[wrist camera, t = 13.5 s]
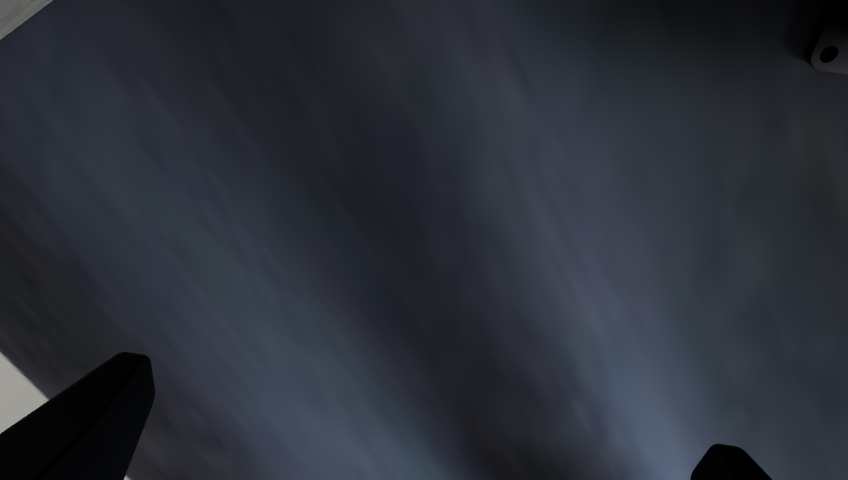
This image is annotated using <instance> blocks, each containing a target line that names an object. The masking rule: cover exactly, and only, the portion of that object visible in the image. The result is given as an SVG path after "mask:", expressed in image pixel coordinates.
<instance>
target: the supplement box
mask: <svg viewBox="0 0 848 480" xmlns="http://www.w3.org/2000/svg"><path fill="white" fill-rule="evenodd" d="M51 1H53V0H0V40H1V39H2V38H4V37H5V36H6V35H8V34H9V33H10V32H12V31H13V30H14V29H16V28H17V27H18V26H20V25H21V24H22V23H24V22H25V21H26V20H28V19H29V18H30V17H32V16H33V15H34V14H36V13H37V12H38V11H40V10H41V9H42V8H43V7H45V6H46V5H47V4H49V3H50V2H51Z"/></svg>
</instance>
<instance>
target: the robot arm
mask: <svg viewBox="0 0 848 480" xmlns="http://www.w3.org/2000/svg"><path fill="white" fill-rule="evenodd" d="M829 46H832V48H831V52H830V53H829V54H828V56H826V57H824V58H821V59H820V54H821V52H822V51H823V50H824V49H825V48H827V47H829ZM805 60H806V61H807V63H808V64H809V65H811V66H812V67H814V68H815V69H817V70H820V71H827V72H835V73H844V74H848V0H828V4H827V6H826V8H825V10H824V12H823V15H822V17H821V19H820V21H819V23H818V25H817V27H816V29H815V31H814V34H813V36H812V38H811V40H810V42H809V44H808V46H807V48H806V52H805ZM154 397H155V386H154V380H153V373H152V367H151V361H150V359H149V357H148V356H146V355H142V354H136V353H130V352H121V353H119V354H116V355H115V356H113V357H112V358H110V359H109V360H107V361H106V362H105V363H103V364H102V365H100V366H99V367H97V368H96V369H94V370H93V371H91V372H90V373H88V374H87V375H86V376H84V377H83V378H81V379H80V380H78V381H77V382H75V383H74V384H72V385H71V386H69V387H68V388H66V389H65V390H64V391H62V392H61V393H59V394H58V395H56V396H55V397H53V398H52V399H50V400H49V401H47V402H46V403H45V404H43V405H42V406H40V407H39V408H37V409H36V410H34V411H33V412H31V413H30V414H28V415H27V416H26V417H24V418H23V419H21V420H20V421H18V422H17V423H15V424H14V425H12V426H11V427H9V428H8V429H7V430H5V431H4V432H2V433H1V434H0V480H124V477H125V475H126V472H127V470H128V467H129V465H130V462H131V459H132V457H133V454H134V452H135V449H136V446H137V444H138V441H139V439H140V436H141V434H142V431H143V428H144V426H145V423H146V421H147V418H148V415H149V413H150V410H151V408H152V405H153V402H154ZM690 480H772V479H771V478H770V477H769V476H768V475H767V474H766V473H765V472H764V471H763V469H762V468H761V467H760V466H759V465H758V464H757V463H756V462H755V461H754V460H753V459H752V458H751V457H750V456H749V455H748V454H747V453H746V452H745V451H744V450H743V449H741V448H739V447H736V446H730V445H724V444H714V445H712V446H711V447H710V448H709V449H708V451H707V452H706V454H705V455H704V456H703V458H702V459H701V460H700V462H699V463H698V465H697V466H696V467H695V469H694V470H693V472H692V475H691V479H690Z"/></svg>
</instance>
